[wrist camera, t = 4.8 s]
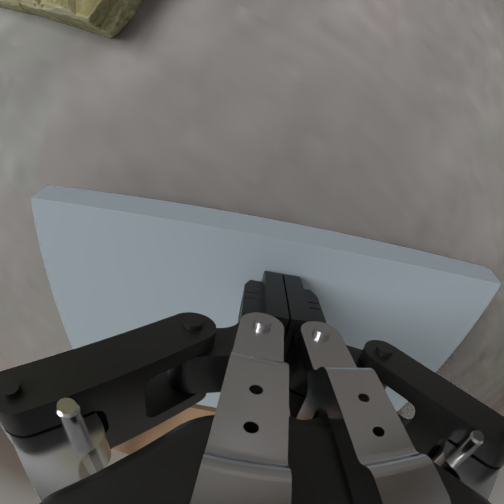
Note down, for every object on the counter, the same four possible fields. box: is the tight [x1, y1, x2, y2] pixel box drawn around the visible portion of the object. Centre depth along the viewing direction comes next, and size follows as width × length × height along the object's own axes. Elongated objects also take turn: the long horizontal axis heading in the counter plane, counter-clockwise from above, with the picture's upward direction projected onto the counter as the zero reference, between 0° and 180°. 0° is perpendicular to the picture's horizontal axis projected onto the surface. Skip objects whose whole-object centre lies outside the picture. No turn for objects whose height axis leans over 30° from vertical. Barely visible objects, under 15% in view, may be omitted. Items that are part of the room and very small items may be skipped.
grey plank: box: [31, 185, 501, 412], centre depth 16 cm, size 24×14×2 cm, turn 80°
